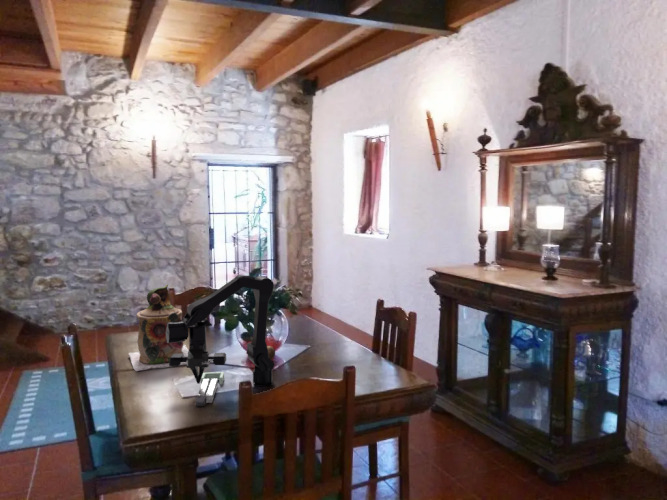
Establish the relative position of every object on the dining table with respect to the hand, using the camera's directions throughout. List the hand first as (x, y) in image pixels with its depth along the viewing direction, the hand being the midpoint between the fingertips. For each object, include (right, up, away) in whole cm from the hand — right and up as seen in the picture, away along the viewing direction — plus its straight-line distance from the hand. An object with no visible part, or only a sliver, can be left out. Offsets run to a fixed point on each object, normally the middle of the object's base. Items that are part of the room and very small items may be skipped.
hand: (198, 383), depth 185 cm
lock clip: (+2, -2, +12) cm, 12 cm away
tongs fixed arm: (+5, -4, 0) cm, 6 cm away
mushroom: (+18, 0, +39) cm, 43 cm away
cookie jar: (-25, 0, +38) cm, 46 cm away
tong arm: (+2, -4, -2) cm, 5 cm away
